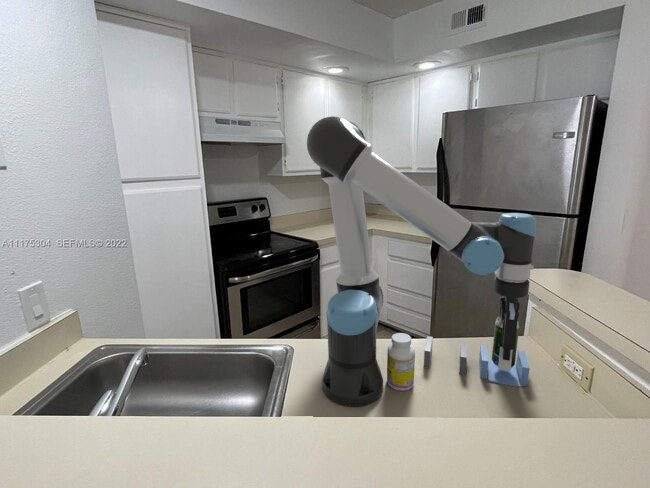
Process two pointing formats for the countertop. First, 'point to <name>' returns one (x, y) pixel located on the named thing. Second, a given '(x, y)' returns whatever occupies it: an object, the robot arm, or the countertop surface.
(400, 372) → the supplement bottle
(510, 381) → the blue bezel pad
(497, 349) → the beer can
